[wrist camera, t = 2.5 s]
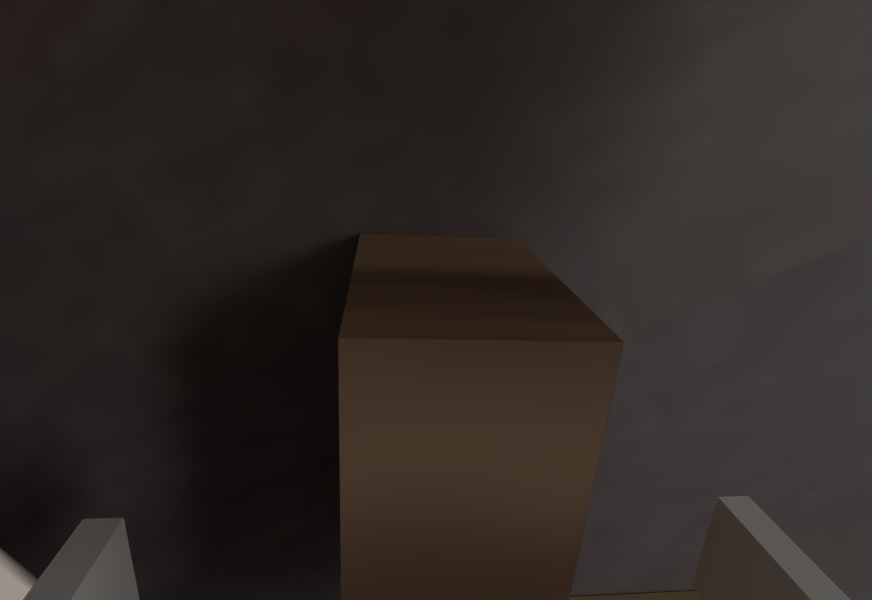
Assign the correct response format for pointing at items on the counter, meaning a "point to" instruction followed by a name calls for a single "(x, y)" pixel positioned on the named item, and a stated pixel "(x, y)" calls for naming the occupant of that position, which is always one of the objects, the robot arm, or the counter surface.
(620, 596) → the cradle
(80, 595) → the robot arm
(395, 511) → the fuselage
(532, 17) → the counter surface
